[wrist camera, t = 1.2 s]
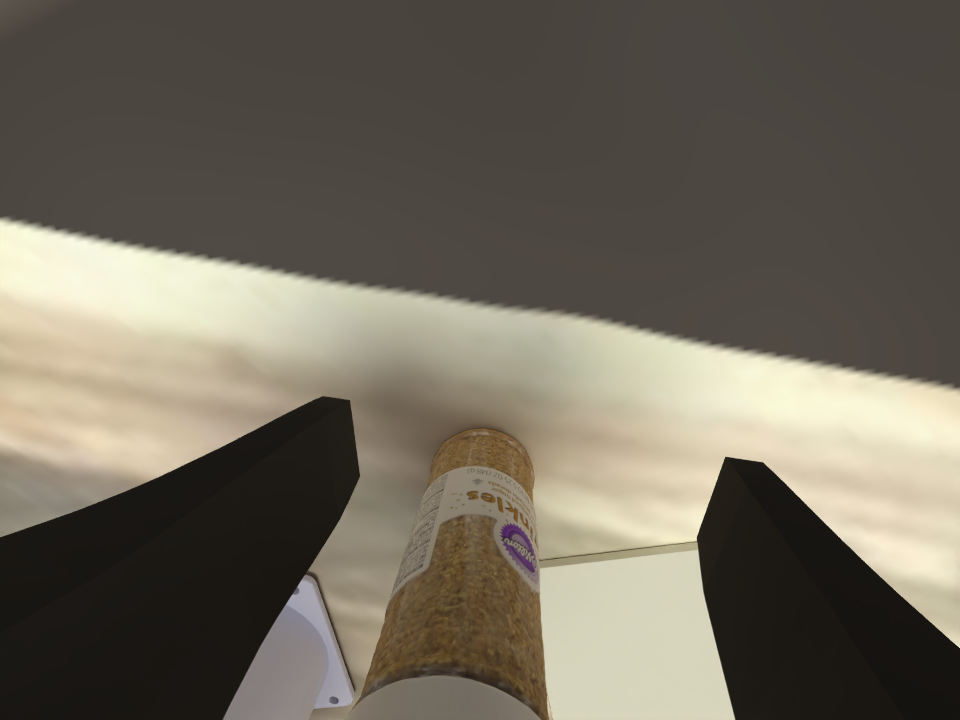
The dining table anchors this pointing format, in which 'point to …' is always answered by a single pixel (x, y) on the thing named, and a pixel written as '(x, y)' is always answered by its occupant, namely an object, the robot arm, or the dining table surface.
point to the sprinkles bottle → (465, 595)
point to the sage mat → (630, 637)
